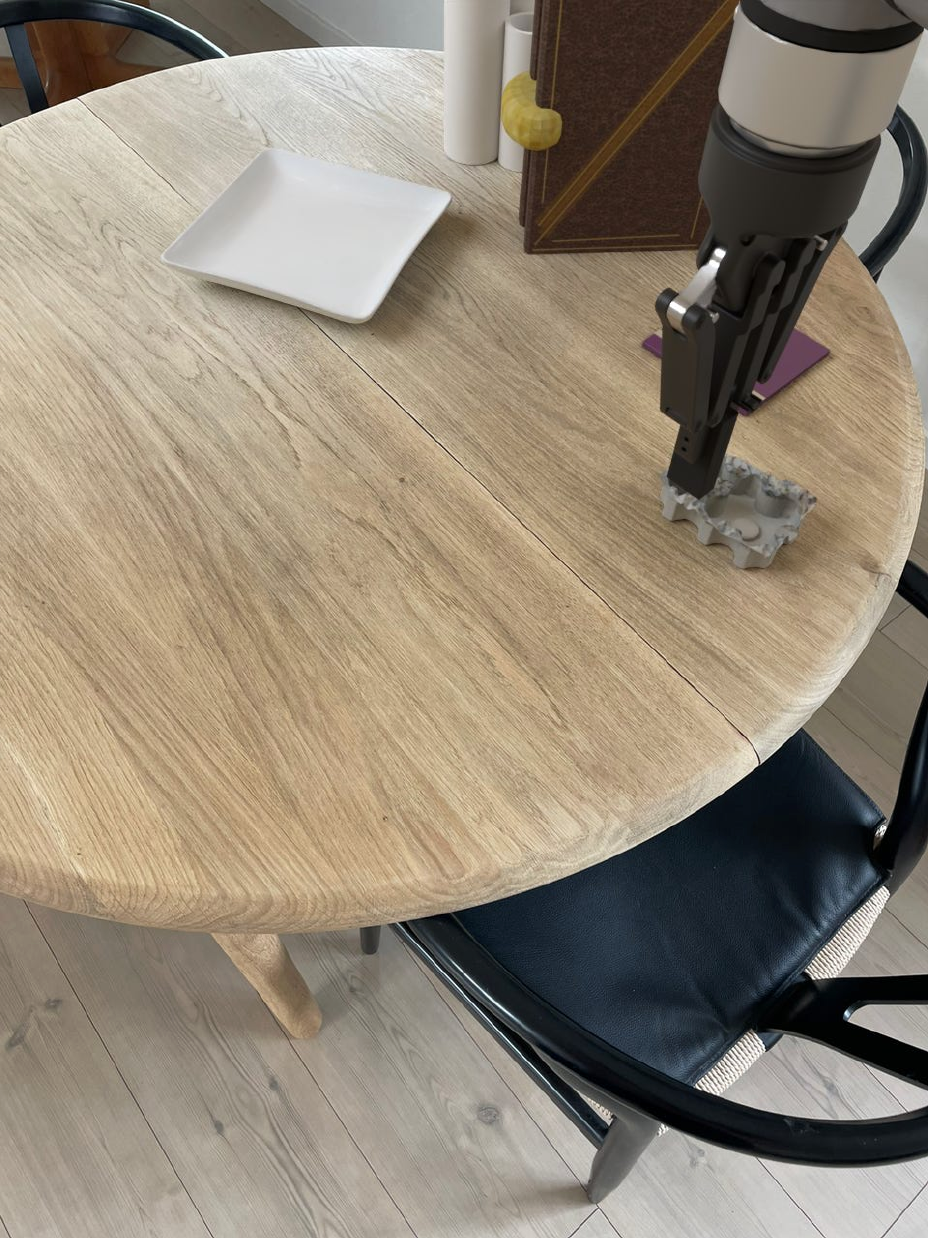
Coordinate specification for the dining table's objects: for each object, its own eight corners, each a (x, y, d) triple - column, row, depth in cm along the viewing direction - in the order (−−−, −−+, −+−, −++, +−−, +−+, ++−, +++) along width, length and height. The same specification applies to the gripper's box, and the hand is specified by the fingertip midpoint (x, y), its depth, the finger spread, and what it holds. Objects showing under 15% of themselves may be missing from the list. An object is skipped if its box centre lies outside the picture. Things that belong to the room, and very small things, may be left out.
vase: (437, 161, 104) (437, -50, 88) (451, 125, 108) (453, -83, 92) (541, 175, 103) (560, -36, 87) (551, 139, 107) (571, -69, 91)
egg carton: (808, 534, 76) (826, 499, 73) (749, 586, 73) (765, 552, 70) (703, 459, 80) (715, 423, 77) (643, 504, 77) (652, 469, 74)
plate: (456, 219, 98) (457, 188, 96) (369, 349, 87) (367, 317, 84) (269, 172, 103) (265, 141, 100) (163, 290, 91) (154, 258, 88)
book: (702, 205, 101) (770, -73, 80) (720, 255, 96) (797, -26, 75) (490, 210, 100) (504, -71, 79) (498, 261, 95) (514, -24, 74)
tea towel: (828, 355, 88) (831, 349, 87) (745, 417, 83) (748, 410, 83) (725, 291, 93) (726, 285, 92) (641, 346, 88) (642, 340, 88)
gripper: (816, 38, 47) (709, 405, 66) (637, 131, 42) (577, 500, 61) (953, 98, 44) (799, 465, 63) (777, 206, 39) (667, 570, 58)
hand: (690, 482), depth 62 cm, fingers closed
